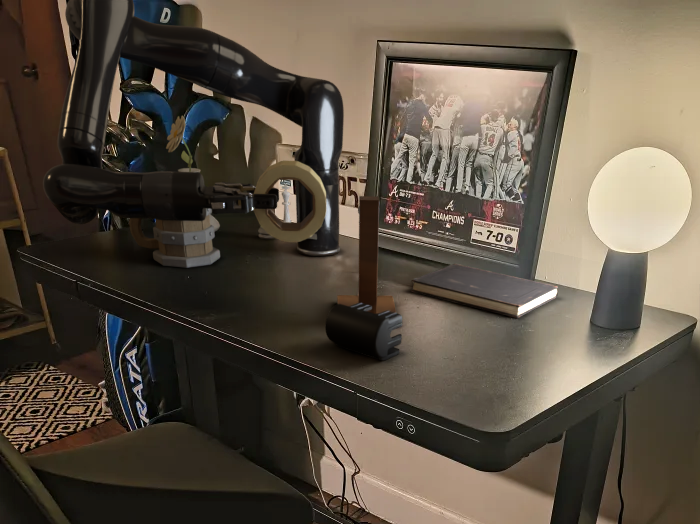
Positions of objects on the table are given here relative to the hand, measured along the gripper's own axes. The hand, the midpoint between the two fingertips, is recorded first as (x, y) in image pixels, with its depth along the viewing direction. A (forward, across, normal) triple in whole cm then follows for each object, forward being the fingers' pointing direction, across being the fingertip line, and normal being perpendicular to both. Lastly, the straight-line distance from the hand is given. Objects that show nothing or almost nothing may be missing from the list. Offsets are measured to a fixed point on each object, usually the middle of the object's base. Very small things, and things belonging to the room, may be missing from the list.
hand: (277, 198), depth 125 cm
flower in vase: (-23, +51, +18) cm, 58 cm away
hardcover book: (+38, +6, +18) cm, 42 cm away
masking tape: (+2, 0, +6) cm, 7 cm away
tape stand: (+15, -6, +18) cm, 24 cm away
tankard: (-25, +30, +18) cm, 43 cm away
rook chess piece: (-6, +48, +18) cm, 52 cm away
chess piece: (-2, +58, +18) cm, 61 cm away
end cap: (+14, -24, +18) cm, 33 cm away
